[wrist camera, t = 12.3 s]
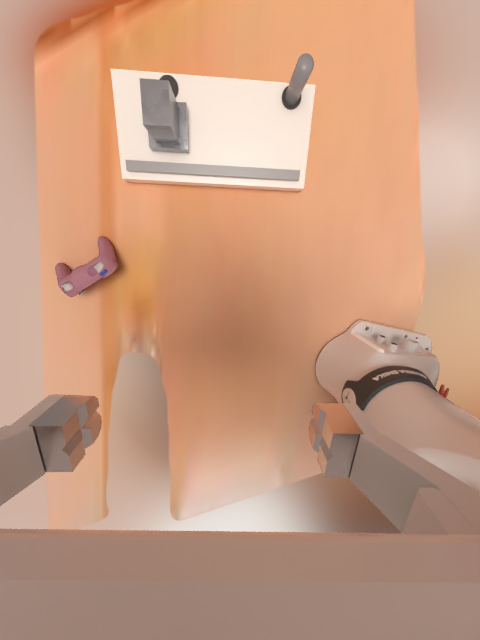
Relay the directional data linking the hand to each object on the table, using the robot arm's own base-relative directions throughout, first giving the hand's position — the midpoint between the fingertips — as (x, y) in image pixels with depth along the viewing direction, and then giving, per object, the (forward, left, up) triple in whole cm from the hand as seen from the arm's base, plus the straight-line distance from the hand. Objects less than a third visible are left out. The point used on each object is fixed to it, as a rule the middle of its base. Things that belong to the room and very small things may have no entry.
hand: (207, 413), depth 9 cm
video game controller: (+21, -2, -33) cm, 39 cm away
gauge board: (+2, -20, -33) cm, 38 cm away
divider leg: (+8, -21, -30) cm, 38 cm away
